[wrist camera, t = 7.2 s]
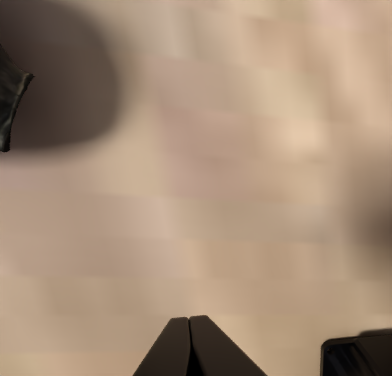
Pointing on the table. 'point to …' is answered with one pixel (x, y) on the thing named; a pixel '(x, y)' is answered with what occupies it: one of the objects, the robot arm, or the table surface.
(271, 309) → the table surface
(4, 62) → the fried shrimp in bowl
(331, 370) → the robot arm
